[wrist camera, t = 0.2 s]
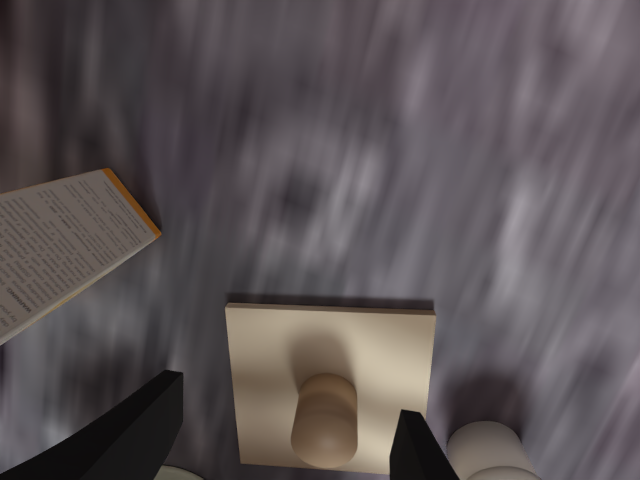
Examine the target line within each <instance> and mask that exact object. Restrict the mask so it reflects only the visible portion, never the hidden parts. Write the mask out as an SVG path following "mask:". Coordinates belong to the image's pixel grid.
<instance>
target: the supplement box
mask: <svg viewBox="0 0 640 480" xmlns="http://www.w3.org/2000/svg"><path fill="white" fill-rule="evenodd" d="M159 236H161V232H160V231H159V229H158V228H157V227H156V226H155V224H154V223H153V222H152V221H151V219H150V218H149V217H148V215H147V214H146V213H145V212H144V210H143V209H142V208H141V206H140V205H139V204H138V203H137V201H136V200H135V199H134V198H133V197H132V195H131V194H130V193H129V192H128V190H127V189H126V188H125V187H124V185H123V184H122V183H121V182H120V180H119V179H118V178H117V176H116V175H115V174H114V173H113V171H112V170H111V169H109V168H105V169H100V170H95V171H91V172H87V173H83V174H79V175H75V176H71V177H66V178H62V179H58V180H54V181H50V182H46V183H42V184H38V185H34V186H29V187H25V188H21V189H17V190H13V191H9V192H5V193H1V194H0V345H2V344H3V343H5V342H6V341H8V340H9V339H11V338H12V337H14V336H15V335H17V334H18V333H20V332H21V331H23V330H24V329H26V328H27V327H29V326H30V325H32V324H33V323H35V322H36V321H38V320H39V319H41V318H42V317H44V316H45V315H47V314H48V313H50V312H52V311H53V310H55V309H56V308H58V307H59V306H61V305H62V304H64V303H65V302H67V301H68V300H70V299H71V298H73V297H74V296H76V295H77V294H79V293H80V292H82V291H83V290H84V289H86V288H87V287H89V286H90V285H92V284H93V283H95V282H96V281H97V280H99V279H100V278H102V277H103V276H105V275H106V274H108V273H109V272H111V271H112V270H113V269H115V268H116V267H118V266H119V265H120V264H122V263H123V262H124V261H126V260H127V259H129V258H130V257H132V256H133V255H134V254H136V253H137V252H139V251H140V250H141V249H143V248H144V247H146V246H147V245H148V244H150V243H151V242H153V241H154V240H155V239H157V238H158V237H159Z"/></svg>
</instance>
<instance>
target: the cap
mask: <svg viewBox="0 0 640 480" xmlns="http://www.w3.org/2000/svg"><path fill="white" fill-rule="evenodd" d="M447 455H448V459H449V463H450V464H451V466H452V468H453V469H454V471H455V472H456V474H457V476H458V477H459V479H460V480H542V479H541V478H539V477H538V476H537V474H536V472H535V470H534V468H533V466H532V464H531V462H530V460H529V458H528V456H527V454H526V452H525V450H524V448H523V446H522V444H521V442H520V440H519V438H518V436H517V435H516V433H515V432H514V431H513V430H512V429H510V428H509V427H507V426H505V425H503V424H501V423H498V422H493V421H477V422H473V423H469V424H467V425H464V426H462V427H461V428H459V429H458V430H456V431H455V432H454V433H453V434H452V436H451V437H450V439H449V441H448V444H447Z"/></svg>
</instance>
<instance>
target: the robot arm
mask: <svg viewBox="0 0 640 480" xmlns="http://www.w3.org/2000/svg"><path fill="white" fill-rule="evenodd" d="M182 422H183V373H182V372H176V371H170V370H164V371H163V372H161V373H160V374H159V375H157V376H156V377H155V378H153V379H152V380H151V381H149V382H148V383H147V384H145V385H144V386H143V387H141V388H140V389H139V390H137V391H136V392H134V393H133V394H132V395H130V396H129V397H128V398H126V399H125V400H124V401H122V402H121V403H119V404H118V405H117V406H115V407H114V408H112V409H111V410H110V411H108V412H107V413H105V414H104V415H102V416H101V417H99V418H98V419H96V420H95V421H93V422H92V423H90V424H89V425H87V426H86V427H84V428H83V429H81V430H80V431H78V432H76V433H75V434H73V435H72V436H70V437H68V438H67V439H65V440H63V441H62V442H60V443H58V444H57V445H55V446H53V447H51V448H49V449H48V450H46V451H44V452H42V453H41V454H39V455H37V456H35V457H33V458H31V459H29V460H27V461H25V462H23V463H21V464H19V465H17V466H15V467H13V468H11V469H9V470H7V471H5V472H3V473H1V474H0V480H154V478H155V477H156V475H157V473H158V471H159V470H160V468H161V466H162V464H163V463H164V461H165V459H166V457H167V456H168V454H169V452H170V450H171V447H172V445H173V443H174V441H175V439H176V436H177V434H178V431H179V429H180V427H181V424H182ZM389 466H390V480H460V479H459V477H458V476H457V474H456V472H455V471H454V469H453V468H452V466H451V464H450V463H449V461H448V460H447V458H446V456H445V455H444V453H443V451H442V450H441V448H440V446H439V444H438V443H437V441H436V439H435V437H434V435H433V434H432V432H431V430H430V428H429V426H428V425H427V423H426V421H425V419H424V417H423V415H422V414H421V413H420V412H416V411H410V410H404V409H401V412H400V416H399V420H398V424H397V428H396V432H395V436H394V440H393V444H392V448H391V452H390V456H389Z"/></svg>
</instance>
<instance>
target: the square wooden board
mask: <svg viewBox="0 0 640 480" xmlns="http://www.w3.org/2000/svg"><path fill="white" fill-rule="evenodd" d="M225 313H226V323H227V333H228V343H229V353H230V363H231V373H232V383H233V393H234V403H235V413H236V423H237V433H238V442H239V452H240V462H241V464H255V465H268V466H282V467H296V468H309V469H323V470H337V471H350V472H364V473H378V474H390V466H389V456H390V452H391V448H392V444H393V440H394V436H395V432H396V428H397V424H398V420H399V416H400V412H401V409H404V410H410V411H416V412H420V413H421V414H422V415H423V417H424V419H426V409H427V400H428V390H429V380H430V371H431V361H432V352H433V342H434V333H435V323H436V314H435V311H434V310H415V309H387V308H360V307H332V306H305V305H277V304H250V303H228V304H227V305H226V307H225Z"/></svg>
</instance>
